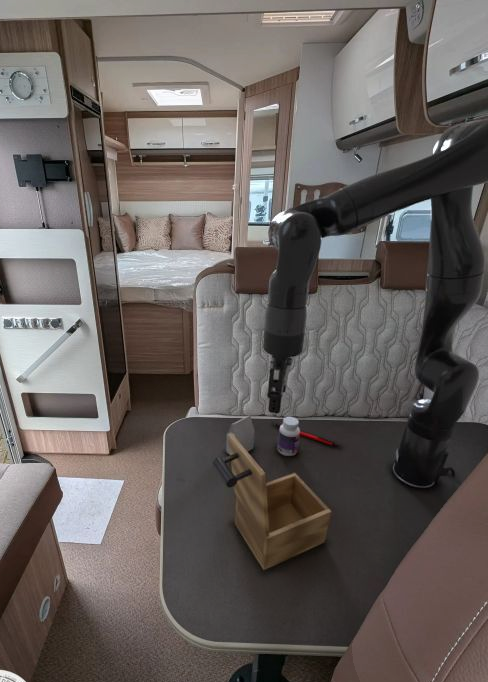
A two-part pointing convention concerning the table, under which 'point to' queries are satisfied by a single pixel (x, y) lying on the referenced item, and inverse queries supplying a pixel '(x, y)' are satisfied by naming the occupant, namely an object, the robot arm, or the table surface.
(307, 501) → the chest
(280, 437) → the pill bottle
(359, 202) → the robot arm
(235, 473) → the lid
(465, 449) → the table surface
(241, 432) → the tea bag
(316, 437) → the pen
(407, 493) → the table surface
